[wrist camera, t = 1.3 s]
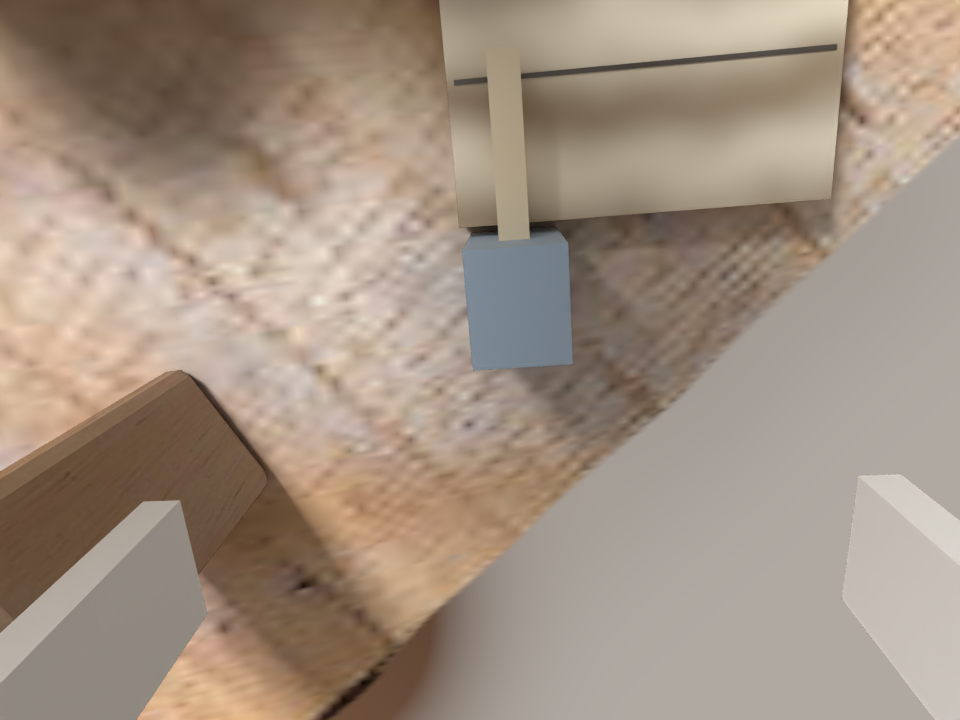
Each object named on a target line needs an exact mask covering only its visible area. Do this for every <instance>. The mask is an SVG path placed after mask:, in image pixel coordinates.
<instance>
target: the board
mask: <svg viewBox="0 0 960 720" xmlns="http://www.w3.org/2000/svg"><path fill="white" fill-rule="evenodd" d="M848 1H849V0H439V6H440V17H441V28H442V40H443V51H444V62H445V73H446V84H447V96H448V107H449V118H450V129H451V141H452V152H453V163H454V174H455V185H456V197H457V208H458V219H459V228H465V227H478V226H491V225H498V221H497V207H496V193H495V178H494V164H493V150H492V136H491V122H490V108H489V93H488V79H487V65H486V51H485V49H494V48H504V47H514V46H519V52H520V70H521V88H522V106H523V124H524V142H525V160H526V178H527V196H528V214H529V222H542V221H555V220H567V219H580V218H593V217H606V216H619V215H631V214H644V213H657V212H670V211H682V210H695V209H708V208H721V207H734V206H746V205H759V204H772V203H785V202H798V201H810V200H823V199H831V194H832V183H833V171H834V160H835V148H836V137H837V126H838V114H839V103H840V92H841V80H842V69H843V58H844V46H845V35H846V24H847V12H848Z"/></svg>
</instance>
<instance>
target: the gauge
mask: <svg viewBox="0 0 960 720" xmlns="http://www.w3.org/2000/svg"><path fill="white" fill-rule="evenodd" d="M485 51H486V65H487V79H488V93H489V108H490V122H491V136H492V150H493V164H494V178H495V193H496V207H497V221H498V231H496V232H483V233H472V234H471V236H470V238H469V239H468V241H467V243H466V245H465V247H464V249H463V251H462V254H463V265H464V276H465V287H466V299H467V310H468V321H469V332H470V344H471V355H472V366H473V371H476V370H492V369H508V368H524V367H539V366H555V365H571V364H573V356H572V329H571V302H570V275H569V248H568V242H567V241H566V239H565V238H564V237H563V236H562V234H561V233H560V232H559V230H558V229H557V228H556V227H548V228H535V229H529V214H528V196H527V178H526V160H525V142H524V124H523V106H522V88H521V70H520V52H519V46H514V47H504V48H494V49H485Z"/></svg>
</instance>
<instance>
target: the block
mask: <svg viewBox="0 0 960 720" xmlns="http://www.w3.org/2000/svg"><path fill="white" fill-rule="evenodd" d="M266 484H267V477H266V474H265V471H264V470H263V469H262V467H261V466H260V465H259V463H258V462H257V461H256V460H255V458H254V457H253V456H252V455H251V453H250V452H249V451H248V449H247V448H246V447H245V446H244V444H243V443H242V442H241V441H240V439H239V438H238V437H237V435H236V434H235V433H234V432H233V430H232V429H231V428H230V427H229V425H228V424H227V423H226V421H225V420H224V419H223V418H222V416H221V415H220V414H219V413H218V411H217V410H216V409H215V407H214V406H213V405H212V404H211V402H210V401H209V400H208V399H207V397H206V396H205V395H204V394H203V392H202V391H201V390H200V388H199V387H198V386H197V385H196V383H195V382H194V381H193V380H192V378H191V377H190V376H189V375H188V374H186V373H185V372H183V371H182V370H178V371H170V372H165V373H164V374H162V375H160V376H159V377H157V378H155V379H154V380H152V381H150V382H149V383H147V384H145V385H144V386H142V387H140V388H139V389H137V390H135V391H134V392H132V393H130V394H129V395H127V396H125V397H124V398H122V399H120V400H119V401H117V402H115V403H114V404H112V405H110V406H109V407H107V408H105V409H104V410H102V411H100V412H99V413H97V414H95V415H94V416H92V417H90V418H89V419H87V420H85V421H84V422H82V423H80V424H79V425H77V426H75V427H74V428H72V429H70V430H69V431H67V432H65V433H64V434H62V435H60V436H59V437H57V438H55V439H54V440H52V441H50V442H49V443H47V444H45V445H44V446H42V447H40V448H39V449H37V450H35V451H34V452H32V453H30V454H29V455H27V456H25V457H24V458H22V459H20V460H19V461H17V462H15V463H14V464H12V465H10V466H8V467H7V468H5V469H3V470H2V471H0V633H1V632H2V631H3V630H4V629H5V628H6V627H7V626H9V625H10V624H11V623H12V622H13V621H14V620H15V619H16V618H17V617H18V616H19V615H20V614H22V613H23V612H24V611H25V610H26V609H27V608H28V607H29V606H30V605H31V604H32V603H34V602H35V601H36V600H37V599H38V598H39V597H40V596H41V595H42V594H43V593H44V592H45V591H47V590H48V589H49V588H50V587H51V586H52V585H53V584H54V583H55V582H56V581H57V580H59V579H60V578H61V577H62V576H63V575H64V574H65V573H66V572H67V571H68V570H69V569H70V568H72V567H73V566H74V565H75V564H76V563H77V562H78V561H79V560H80V559H81V558H82V557H84V556H85V555H86V554H87V553H88V552H89V551H90V550H91V549H92V548H93V547H94V546H96V545H97V544H98V543H99V542H100V541H101V540H102V539H103V538H104V537H105V536H106V535H107V534H109V533H110V532H111V531H112V530H113V529H114V528H115V527H116V526H117V525H118V524H119V523H121V522H122V521H123V520H124V519H125V518H126V517H127V516H128V515H129V514H130V513H131V512H132V511H134V510H135V509H136V508H137V507H138V506H139V505H140V504H141V503H142V502H146V501H173V500H180V502H181V506H182V511H183V515H184V519H185V523H186V527H187V531H188V535H189V539H190V544H191V548H192V552H193V556H194V560H195V564H196V568H197V573H198V574H199V573H200V572H201V570H202V569H203V568H204V566H205V565H206V564H207V563H208V561H209V560H210V559H211V557H212V556H213V555H214V553H215V552H216V551H217V549H218V548H219V547H220V545H221V544H222V543H223V542H224V540H225V539H226V538H227V536H228V535H229V534H230V532H231V531H232V530H233V528H234V527H235V526H236V524H237V523H238V522H239V521H240V519H241V518H242V517H243V515H244V514H245V513H246V511H247V510H248V509H249V507H250V506H251V505H252V503H253V502H254V501H255V500H256V498H257V497H258V496H259V494H260V493H261V492H262V490H263V489H264V487H265V486H266Z"/></svg>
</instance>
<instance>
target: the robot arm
mask: <svg viewBox="0 0 960 720" xmlns="http://www.w3.org/2000/svg"><path fill="white" fill-rule="evenodd" d="M842 600H843V601H844V602H845V604H846V605H847V606H848V608H849V609H850V610H851V612H852V613H853V614H854V616H855V617H856V618H857V619H858V621H859V622H860V623H861V625H862V626H863V627H864V628H865V630H866V631H867V632H868V634H869V635H870V636H871V637H872V639H873V640H874V642H875V643H876V644H877V645H878V647H879V648H880V649H881V651H882V652H883V653H884V655H885V656H886V657H887V658H888V660H889V661H890V662H891V664H892V665H893V666H894V667H895V669H896V670H897V671H898V673H899V674H900V675H901V677H902V678H903V679H904V681H905V682H906V683H907V684H908V686H909V687H910V688H911V690H912V691H913V692H914V694H915V695H916V696H917V697H918V699H919V700H920V701H921V703H922V704H923V705H924V707H925V708H926V709H927V711H928V712H929V713H930V714H931V716H932V717H933V718H934V720H960V521H959V520H958V519H957V518H955V517H954V516H953V515H952V514H951V513H949V512H948V511H947V510H945V509H944V508H943V507H942V506H940V505H939V504H938V503H937V502H935V501H934V500H933V499H932V498H930V497H929V496H927V495H926V494H925V493H924V492H922V491H921V490H920V489H919V488H918V487H916V486H915V485H914V484H913V483H911V482H910V481H909V480H907V479H906V478H905V477H904V476H902V475H901V474H897V475H896V474H894V475H867V476H858V481H857V488H856V496H855V503H854V511H853V518H852V526H851V533H850V540H849V548H848V556H847V563H846V570H845V578H844V586H843V593H842ZM206 615H207V610H206V606H205V602H204V597H203V593H202V589H201V585H200V581H199V577H198V573H197V568H196V564H195V560H194V556H193V552H192V548H191V544H190V539H189V535H188V531H187V527H186V523H185V519H184V515H183V511H182V506H181V502H180V500H173V501H146V502H142V503H141V504H140V505H139V506H138V507H137V508H136V509H135V510H134V511H132V512H131V513H130V514H129V515H128V516H127V517H126V518H125V519H124V520H123V521H122V522H121V523H119V524H118V525H117V526H116V527H115V528H114V529H113V530H112V531H111V532H110V533H109V534H107V535H106V536H105V537H104V538H103V539H102V540H101V541H100V542H99V543H98V544H97V545H96V546H94V547H93V548H92V549H91V550H90V551H89V552H88V553H87V554H86V555H85V556H84V557H82V558H81V559H80V560H79V561H78V562H77V563H76V564H75V565H74V566H73V567H72V568H70V569H69V570H68V571H67V572H66V573H65V574H64V575H63V576H62V577H61V578H60V579H59V580H57V581H56V582H55V583H54V584H53V585H52V586H51V587H50V588H49V589H48V590H47V591H45V592H44V593H43V594H42V595H41V596H40V597H39V598H38V599H37V600H36V601H35V602H34V603H32V604H31V605H30V606H29V607H28V608H27V609H26V610H25V611H24V612H23V613H22V614H20V615H19V616H18V617H17V618H16V619H15V620H14V621H13V622H12V623H11V624H10V625H9V626H7V627H6V628H5V629H4V630H3V631H2V632H1V633H0V720H137V718H138V717H139V715H140V714H141V712H142V711H143V709H144V708H145V706H146V705H147V703H148V702H149V700H150V699H151V697H152V696H153V694H154V693H155V691H156V690H157V688H158V687H159V685H160V684H161V682H162V681H163V679H164V678H165V677H166V675H167V674H168V672H169V671H170V669H171V668H172V666H173V665H174V663H175V662H176V660H177V659H178V657H179V656H180V654H181V653H182V651H183V650H184V648H185V647H186V645H187V644H188V642H189V641H190V639H191V638H192V636H193V635H194V633H195V632H196V630H197V629H198V627H199V626H200V624H201V623H202V621H203V620H204V618H205V617H206Z"/></svg>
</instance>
